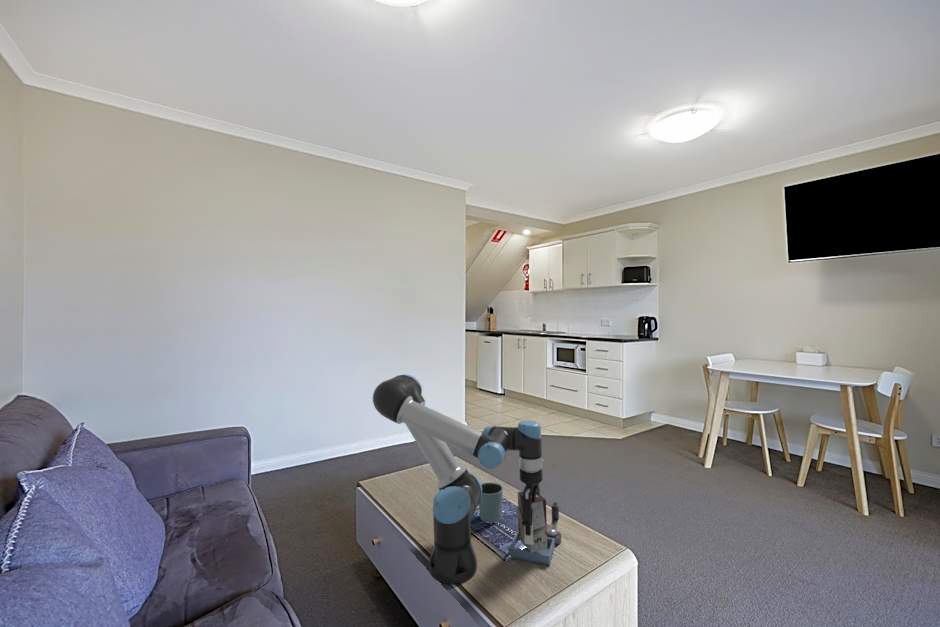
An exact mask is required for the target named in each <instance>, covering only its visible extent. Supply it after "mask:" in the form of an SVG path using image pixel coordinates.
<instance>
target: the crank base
mask: <svg viewBox="0 0 940 627" xmlns="http://www.w3.org/2000/svg"><path fill="white" fill-rule="evenodd" d="M547 537H548V538H554V539H555V546H558V545H560V544H561V543H562V533H561V532H560V531H558V535H557V536H556V537H550V536H547Z"/></svg>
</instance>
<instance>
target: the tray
mask: <svg viewBox="0 0 940 627" xmlns="http://www.w3.org/2000/svg"><path fill="white" fill-rule="evenodd" d="M518 539H519V531H516V532H515V534H514V537H513V538H512V541H511V543H510V545H509V547H508V554H509V555H510V556H511V558H512V559H515V560H516V559H517V560H520V561H526V562H529V563H535V564H540V565H543V566H544V565H545V566H550V565H551V562H552V558H553V555H554V552H555V547H556V545H555V539H554V538H548V537H547V549H544V550H540V551H536V552H533V553H531V552H530V551H529V550H528V548H525V549H523V550H521V549H516V548H514V547H515V545H516V543H517V541H518ZM519 540H520V539H519Z"/></svg>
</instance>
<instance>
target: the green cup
mask: <svg viewBox="0 0 940 627" xmlns="http://www.w3.org/2000/svg"><path fill="white" fill-rule="evenodd" d="M481 486H482V496H481V501H480V503H479V505H478V507H479V509H478V512H479V519H480V518H481V519H480V521H481V520H483V521H485V522H489V523H495V522H498V523H500V522H501V521H502V520H501V519H503V493H504V487H503V485H501V484H499V483H497V482H484V483H481ZM500 520H501V521H500ZM499 521H500V522H499ZM495 524H496V523H495Z"/></svg>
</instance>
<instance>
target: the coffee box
mask: <svg viewBox="0 0 940 627" xmlns="http://www.w3.org/2000/svg"><path fill="white" fill-rule="evenodd" d="M523 492H524V490H522V491H518V492H517V510H518V512H517V514H518V515H517V516H518V518H517V519H518V532H519V539H520V540H521V542H522V543H523V544H524V545H525V546H526V547H527V548H528V550H529V551H530V552H531V553H533V552H536V551H540V550H544V549H547V527H548V526H547V525H548V524H547V523H548V522H547V521H548V520H547V499H545V497H543V496H542V495H541V494H540V495H539V494H537V493H536V497H535V501H534V502H531V509H532V512H533V516H532V524H533V545H530V544H525V537H524V525H522V524H521V522H522V519H523ZM532 499H533V498H532Z"/></svg>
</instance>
